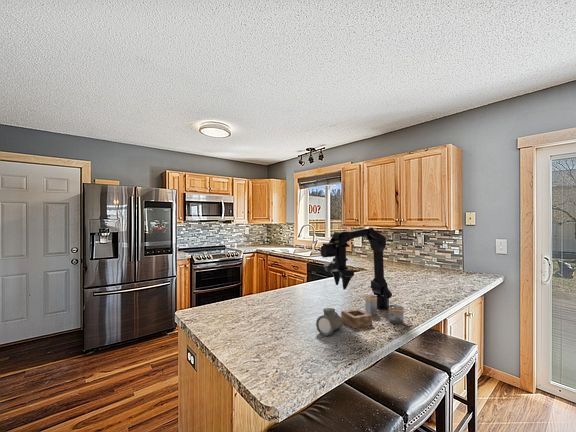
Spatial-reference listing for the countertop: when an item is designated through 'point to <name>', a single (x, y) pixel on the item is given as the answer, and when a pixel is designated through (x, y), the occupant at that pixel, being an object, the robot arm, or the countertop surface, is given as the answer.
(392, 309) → the cylinder
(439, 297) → the countertop surface
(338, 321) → the pipe fitting
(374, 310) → the square bit
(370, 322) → the block
